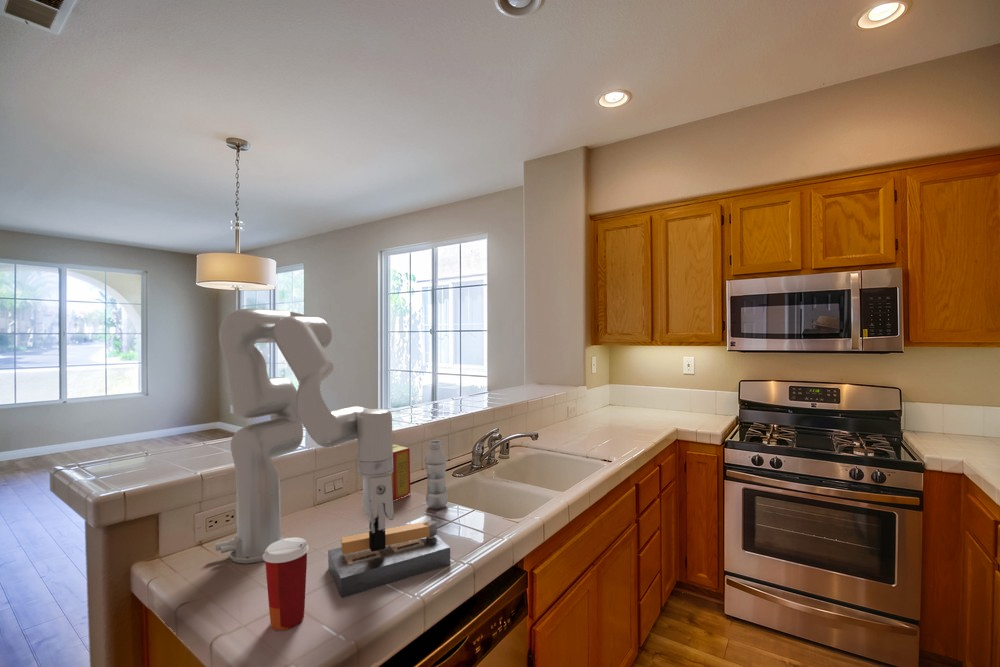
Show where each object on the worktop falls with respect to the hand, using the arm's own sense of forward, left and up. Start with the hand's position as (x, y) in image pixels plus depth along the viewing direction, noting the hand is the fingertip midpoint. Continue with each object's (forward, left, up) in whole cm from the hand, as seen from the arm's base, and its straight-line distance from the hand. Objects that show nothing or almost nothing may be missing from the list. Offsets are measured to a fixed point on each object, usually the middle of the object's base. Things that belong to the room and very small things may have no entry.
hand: (377, 548), depth 99 cm
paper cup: (-19, -7, -6) cm, 21 cm away
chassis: (+3, +2, -6) cm, 7 cm away
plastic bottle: (+26, +29, -6) cm, 39 cm away
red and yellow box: (+18, +47, -6) cm, 50 cm away
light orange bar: (+4, +3, -1) cm, 5 cm away
